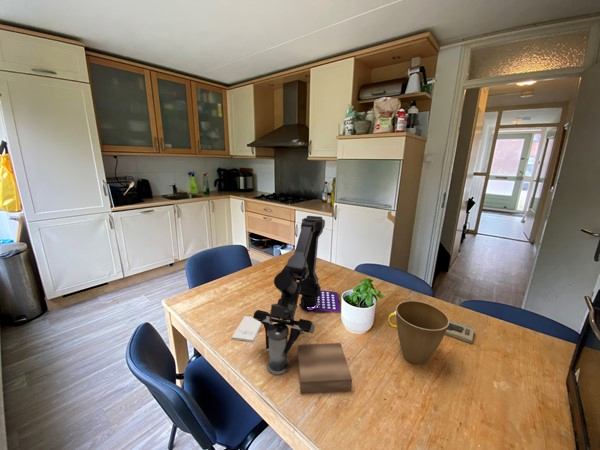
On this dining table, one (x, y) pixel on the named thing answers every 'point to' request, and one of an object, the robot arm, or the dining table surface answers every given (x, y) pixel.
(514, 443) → the dining table surface
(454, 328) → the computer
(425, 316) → the brown hollow tapered container
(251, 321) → the external hard drive
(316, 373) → the stand
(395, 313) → the watch
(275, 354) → the cylinder
